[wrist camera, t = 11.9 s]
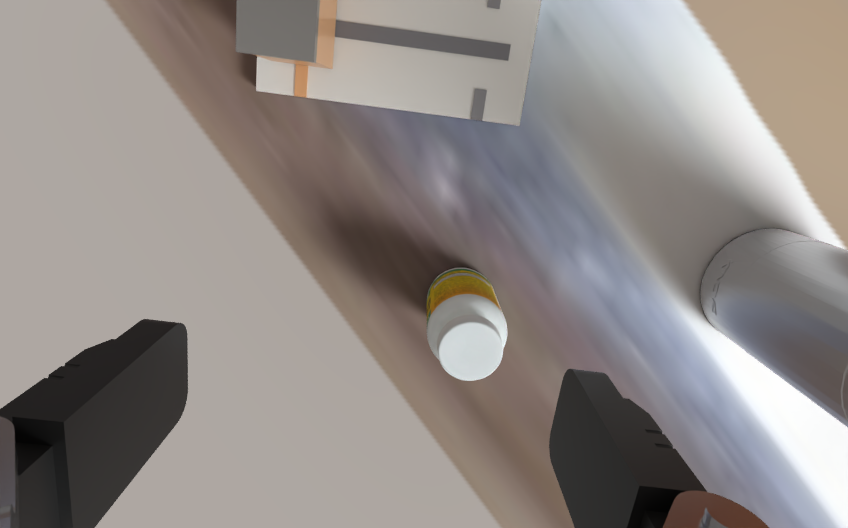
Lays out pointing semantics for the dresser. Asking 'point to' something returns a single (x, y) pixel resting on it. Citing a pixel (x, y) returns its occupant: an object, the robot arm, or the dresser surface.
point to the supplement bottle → (465, 324)
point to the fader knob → (287, 30)
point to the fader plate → (422, 58)
